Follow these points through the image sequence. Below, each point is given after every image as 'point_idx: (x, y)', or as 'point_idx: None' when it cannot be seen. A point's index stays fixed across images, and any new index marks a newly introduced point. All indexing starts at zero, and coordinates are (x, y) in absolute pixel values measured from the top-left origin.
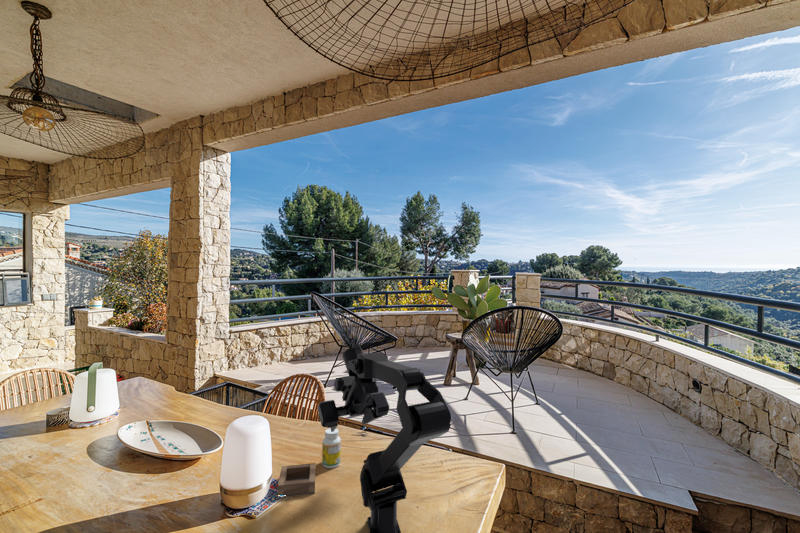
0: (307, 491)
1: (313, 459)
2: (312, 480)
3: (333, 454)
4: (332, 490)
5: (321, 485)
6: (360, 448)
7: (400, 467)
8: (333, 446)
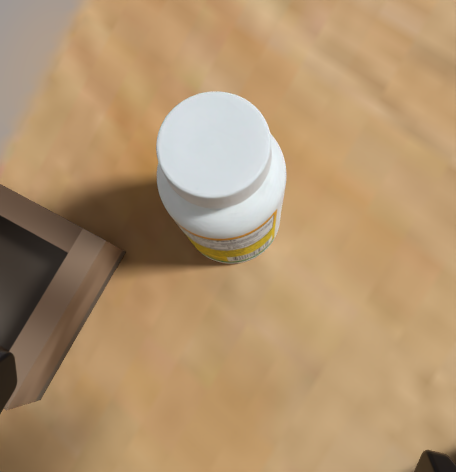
0: None
1: None
2: None
3: (208, 248)
4: (114, 435)
5: (97, 359)
6: (447, 171)
7: None
8: (200, 237)
